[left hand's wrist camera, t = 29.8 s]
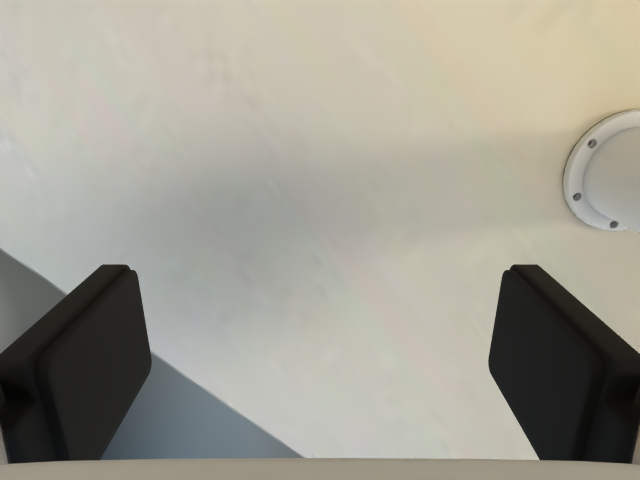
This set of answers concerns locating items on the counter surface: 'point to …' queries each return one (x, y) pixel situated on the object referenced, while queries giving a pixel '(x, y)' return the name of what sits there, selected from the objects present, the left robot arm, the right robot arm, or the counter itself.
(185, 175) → the counter surface
